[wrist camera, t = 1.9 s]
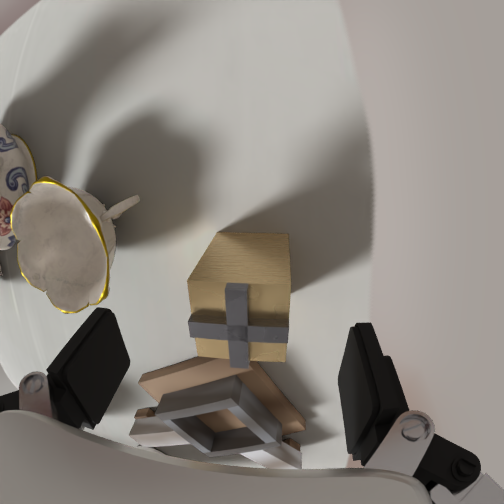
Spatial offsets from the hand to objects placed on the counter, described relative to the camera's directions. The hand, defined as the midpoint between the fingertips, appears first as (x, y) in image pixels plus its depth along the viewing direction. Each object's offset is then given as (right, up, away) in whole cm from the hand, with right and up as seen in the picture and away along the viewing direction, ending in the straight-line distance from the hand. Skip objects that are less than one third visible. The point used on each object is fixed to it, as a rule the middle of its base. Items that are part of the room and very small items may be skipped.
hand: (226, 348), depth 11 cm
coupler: (+1, +3, +8) cm, 9 cm away
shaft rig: (-3, -14, +15) cm, 21 cm away
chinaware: (-20, +7, +9) cm, 23 cm away
